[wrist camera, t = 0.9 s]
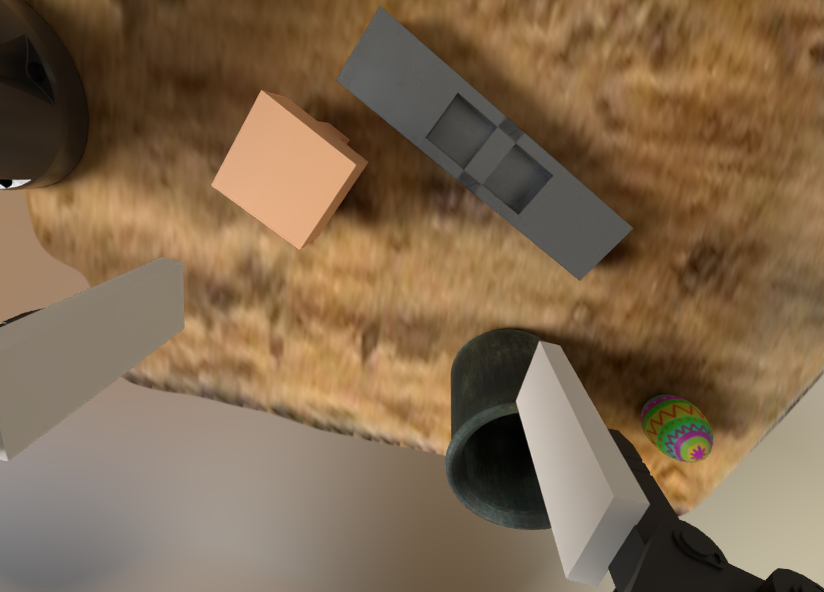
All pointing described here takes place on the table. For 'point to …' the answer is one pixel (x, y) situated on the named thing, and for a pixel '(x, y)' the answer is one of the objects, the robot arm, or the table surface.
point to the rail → (479, 146)
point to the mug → (494, 432)
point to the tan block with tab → (288, 169)
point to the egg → (677, 428)
